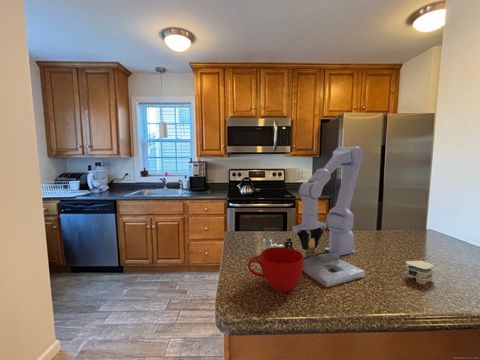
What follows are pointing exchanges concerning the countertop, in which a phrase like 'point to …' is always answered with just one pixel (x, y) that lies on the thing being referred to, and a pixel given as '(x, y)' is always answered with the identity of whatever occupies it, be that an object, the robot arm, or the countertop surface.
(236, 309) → the countertop surface
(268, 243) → the valve
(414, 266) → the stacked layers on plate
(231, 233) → the countertop surface
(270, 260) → the ceramic cup
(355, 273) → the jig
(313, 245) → the brass cylinder
